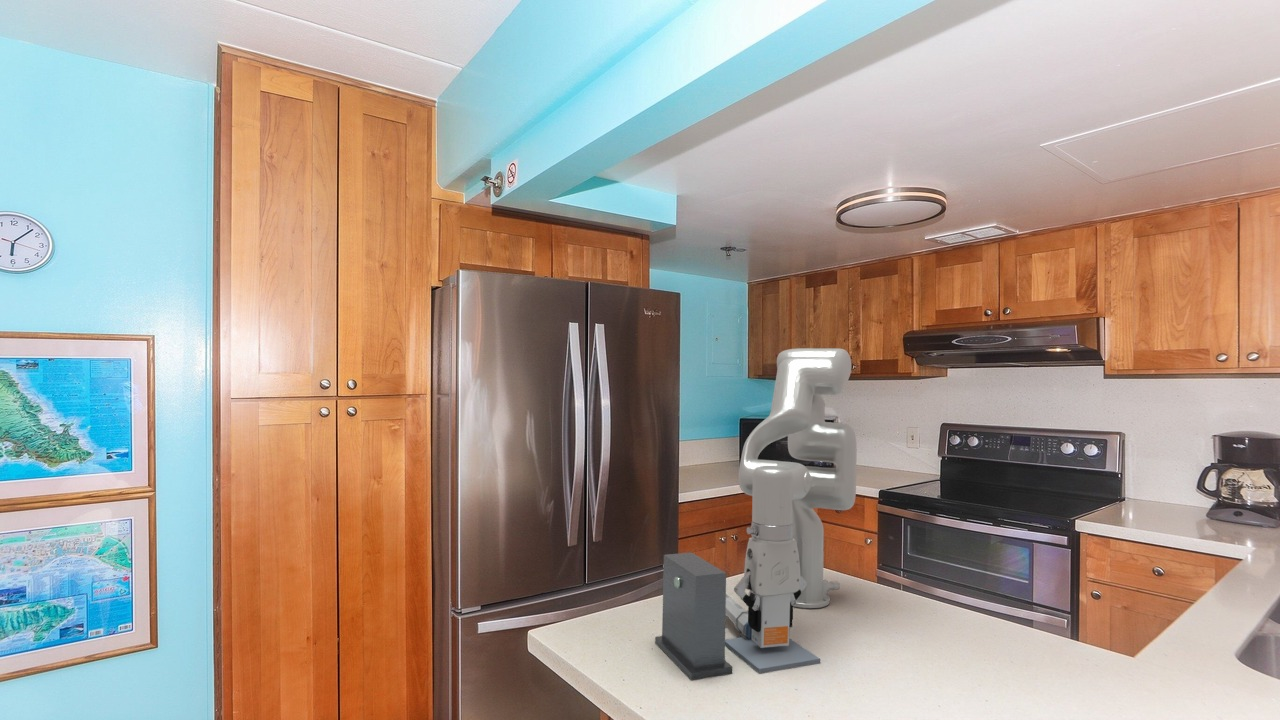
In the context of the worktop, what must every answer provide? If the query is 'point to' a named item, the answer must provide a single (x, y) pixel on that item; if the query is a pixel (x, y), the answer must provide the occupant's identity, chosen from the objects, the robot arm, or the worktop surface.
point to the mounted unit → (694, 616)
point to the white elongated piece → (738, 616)
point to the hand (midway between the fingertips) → (770, 626)
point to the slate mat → (771, 655)
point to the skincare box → (773, 621)
